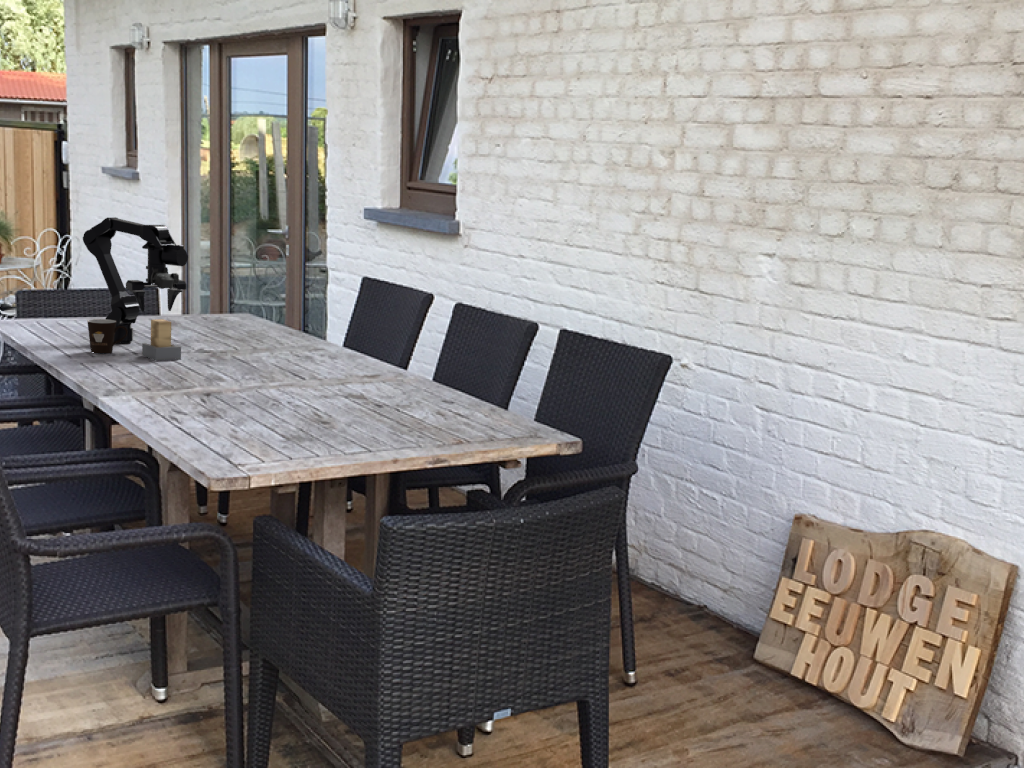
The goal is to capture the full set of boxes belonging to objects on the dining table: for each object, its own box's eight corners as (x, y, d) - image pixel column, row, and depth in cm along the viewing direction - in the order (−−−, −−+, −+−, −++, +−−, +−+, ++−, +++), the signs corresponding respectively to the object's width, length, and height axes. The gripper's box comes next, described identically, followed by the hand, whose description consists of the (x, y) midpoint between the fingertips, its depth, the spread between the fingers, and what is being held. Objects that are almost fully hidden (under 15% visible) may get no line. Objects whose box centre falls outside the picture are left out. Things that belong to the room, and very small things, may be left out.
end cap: (142, 355, 380) (142, 343, 380) (167, 354, 386) (167, 342, 385) (155, 360, 373) (155, 348, 372) (180, 359, 379) (181, 346, 378)
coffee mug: (81, 352, 379) (81, 320, 377) (100, 349, 387) (100, 318, 385) (111, 356, 375) (111, 325, 373) (129, 353, 383) (129, 322, 381)
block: (150, 354, 381) (150, 319, 379) (162, 353, 383) (162, 319, 381) (158, 357, 376) (159, 322, 374) (170, 356, 379) (171, 321, 377)
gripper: (139, 266, 380) (139, 315, 383) (194, 266, 392) (193, 313, 395) (125, 262, 388) (124, 310, 391) (179, 262, 400) (178, 309, 403)
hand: (156, 311), depth 395 cm, fingers open, 9 cm apart
